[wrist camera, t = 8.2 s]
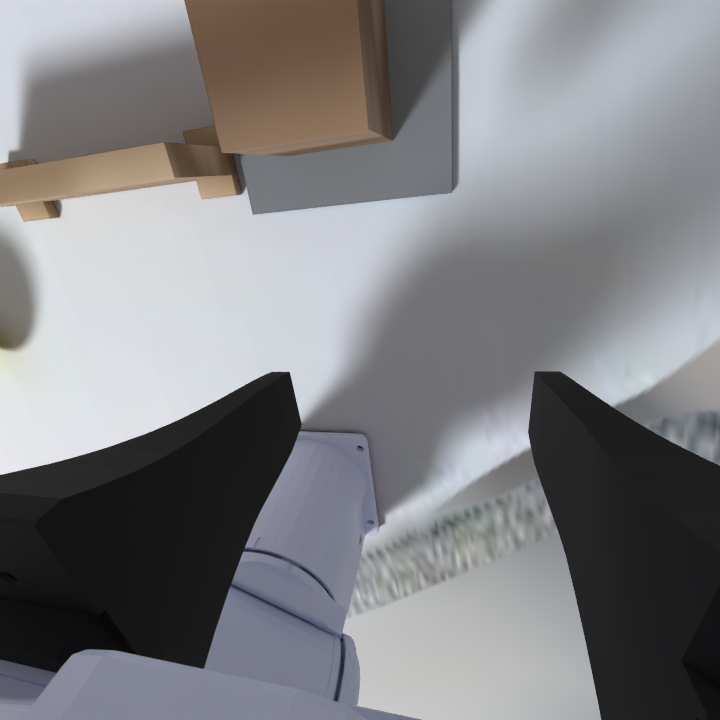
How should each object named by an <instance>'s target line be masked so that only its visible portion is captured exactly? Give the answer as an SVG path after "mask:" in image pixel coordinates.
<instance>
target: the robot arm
mask: <svg viewBox="0 0 720 720" xmlns="http://www.w3.org/2000/svg"><path fill="white" fill-rule="evenodd" d="M301 425H302V424H301V420H300V416H299V411H298V407H297V402H296V398H295V394H294V389H293V385H292V380H291V376H290V372H271V373H268V374H266V375H264V376H262V377H260V378H258V379H256V380H254V381H252V382H250V383H248V384H246V385H245V386H243V387H241V388H239V389H237V390H236V391H234V392H232V393H230V394H228V395H227V396H225V397H223V398H221V399H219V400H217V401H216V402H214V403H212V404H210V405H208V406H206V407H204V408H202V409H200V410H198V411H196V412H194V413H192V414H190V415H188V416H186V417H184V418H182V419H180V420H178V421H175V422H173V423H171V424H169V425H166V426H164V427H162V428H159V429H157V430H154V431H152V432H150V433H147V434H144V435H142V436H139V437H136V438H133V439H130V440H128V441H125V442H122V443H119V444H116V445H113V446H111V447H108V448H105V449H101V450H98V451H95V452H92V453H88V454H85V455H81V456H78V457H74V458H70V459H67V460H63V461H59V462H55V463H52V464H48V465H43V466H39V467H34V468H30V469H25V470H21V471H16V472H12V473H7V474H3V475H0V720H420V719H416V718H411V717H406V716H402V715H397V714H392V713H387V712H383V711H378V710H373V709H369V708H364V707H359V706H357V704H358V696H359V687H360V666H359V661H358V658H357V654H356V647H355V644H354V641H353V639H352V638H351V637H350V636H348V635H346V634H344V633H342V631H343V626H344V622H345V618H346V614H347V612H348V609H349V605H350V601H351V597H352V592H353V588H354V583H355V579H356V574H357V569H358V565H359V560H360V556H361V551H362V547H363V542H364V538H365V535H377V534H378V532H379V523H378V516H377V508H376V501H375V493H374V486H373V478H372V470H371V463H370V455H369V448H368V440H367V438H366V436H365V435H363V434H356V433H330V432H303V431H300V428H301ZM528 433H529V439H530V444H531V449H532V454H533V459H534V463H535V466H536V469H537V472H538V475H539V478H540V481H541V484H542V487H543V490H544V493H545V495H546V498H547V501H548V504H549V507H550V509H551V512H552V515H553V518H554V521H555V524H556V526H557V529H558V532H559V535H560V538H561V541H562V544H563V547H564V551H565V554H566V558H567V562H568V566H569V570H570V574H571V578H572V583H573V587H574V590H575V595H576V599H577V604H578V609H579V613H580V618H581V622H582V626H583V631H584V635H585V640H586V645H587V650H588V655H589V659H590V664H591V669H592V674H593V679H594V684H595V689H596V694H597V698H598V704H599V709H600V715H601V720H720V466H719V465H717V464H715V463H713V462H710V461H708V460H706V459H704V458H702V457H700V456H698V455H696V454H694V453H692V452H690V451H688V450H686V449H684V448H682V447H680V446H678V445H676V444H674V443H672V442H670V441H668V440H666V439H665V438H663V437H661V436H659V435H657V434H656V433H654V432H652V431H650V430H649V429H647V428H645V427H644V426H642V425H640V424H639V423H637V422H635V421H633V420H632V419H630V418H628V417H627V416H625V415H624V414H622V413H621V412H619V411H617V410H616V409H614V408H613V407H611V406H610V405H608V404H607V403H605V402H604V401H602V400H601V399H599V398H598V397H597V396H595V395H594V394H592V393H591V392H589V391H588V390H586V389H585V388H584V387H582V386H581V385H579V384H578V383H576V382H575V381H574V380H572V379H571V378H569V377H568V376H566V375H565V374H563V373H561V372H535V375H534V384H533V393H532V402H531V412H530V421H529V430H528ZM358 446H362V447H363V448H359V447H358Z"/></svg>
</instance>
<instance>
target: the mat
mask: <svg viewBox="0 0 720 720" xmlns="http://www.w3.org/2000/svg"><path fill="white" fill-rule="evenodd" d="M384 6H385V22H386V38H387V53H388V69H389V84H390V100H391V115H392V131H393V141H389V142H382V143H375V144H369V145H362V146H355V147H348V148H341V149H335V150H328V151H321V152H314V153H307V154H301V155H294V156H273V155H255V154H239V155H240V160H241V164H242V169H243V173H244V177H245V182H246V186H247V191H248V195H249V199H250V204H251V208H252V213H253V214H262V213H271V212H280V211H290V210H299V209H308V208H317V207H326V206H335V205H344V204H353V203H362V202H371V201H380V200H389V199H398V198H407V197H416V196H425V195H434V194H443V193H452V61H451V0H384Z"/></svg>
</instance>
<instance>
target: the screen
mask: <svg viewBox="0 0 720 720" xmlns="http://www.w3.org/2000/svg"><path fill="white" fill-rule="evenodd" d="M183 135H184V138H185V142H186V144H179V143H166V142H163V143H157V144H151V145H145V146H139V147H133V148H128V149H122V150H116V151H110V152H104V153H98V154H93V155H87V156H81V157H75V158H69V159H63V160H58V161H52V162H46V163H40V164H36V163H35V161H34V160H19V161H14V162H8V163H2V164H0V207H4V206H14V205H16V207H17V209H18V211H19V213H20V215H21V217H22V219H23V221H24V222H26V221H34V220H42V219H50V218H57V217H59V215H58V212H57V210H56V208H55V206H54V203H53V201H54V200H61V199H68V198H75V197H83V196H90V195H97V194H104V193H111V192H118V191H126V190H133V189H140V188H147V187H154V186H161V185H169V184H176V183H183V182H190V181H197V185H198V188H199V192H200V196H201V199H209V198H217V197H225V196H233V195H240V194H242V192H241V187H240V183H239V179H238V175H237V170H236V166H235V162H234V157H233V153H222V152H221V147H220V143H219V139H218V135H217V131H216V127H215V126H212V127H206V128H200V129H195V130H189V131H183Z"/></svg>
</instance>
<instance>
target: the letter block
mask: <svg viewBox="0 0 720 720" xmlns="http://www.w3.org/2000/svg"><path fill="white" fill-rule="evenodd" d="M184 1H185V5H186V9H187V13H188V17H189V21H190V25H191V29H192V33H193V37H194V41H195V46H196V50H197V54H198V58H199V62H200V66H201V70H202V74H203V78H204V82H205V86H206V90H207V94H208V99H209V103H210V107H211V111H212V115H213V119H214V123H215V127H216V131H217V135H218V139H219V143H220V147H221V152H222V153H237V154H255V155H273V156H294V155H301V154H307V153H314V152H321V151H328V150H335V149H341V148H348V147H355V146H362V145H369V144H375V143H382V142H389V141H393V131H392V115H391V100H390V84H389V69H388V53H387V38H386V22H385V6H384V0H184Z"/></svg>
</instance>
